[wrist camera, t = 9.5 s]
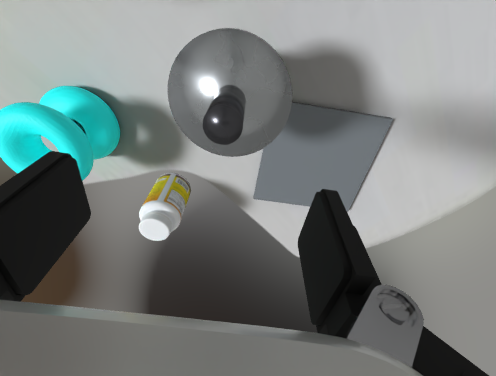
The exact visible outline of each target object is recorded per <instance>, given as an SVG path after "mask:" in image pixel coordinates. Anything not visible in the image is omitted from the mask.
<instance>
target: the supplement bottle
mask: <svg viewBox="0 0 496 376" xmlns="http://www.w3.org/2000/svg"><path fill="white" fill-rule="evenodd" d="M190 192H191V188H190V184H189V182H188V181H187V180H186V179H185V178H184V177H183V176H181V175H179V174H176V173H166V174H163V175H161V176H160V177H159V178H158V180H157V181H156V183H155V185H154V186H153V188H152V190H151V191H150V193H149V195H148V197H147V199H146V200H145V202H144V204H143V205H142V208H141V209H140V212H139V217H140V220H141V222H140V224H139V230H140V232H141V234H142V235H143V236H144V237H146V238H148V239H150V240H154V241H160V240H164V239H166V238H167V237H168V236H169V234H170V232H171V231H173V230H175V229H176V228H177V227H178V226H179V224H180V221H181V218H182V215H183V213H184V210H185V207H186V204H187V201H188V198H189V195H190Z"/></svg>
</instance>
